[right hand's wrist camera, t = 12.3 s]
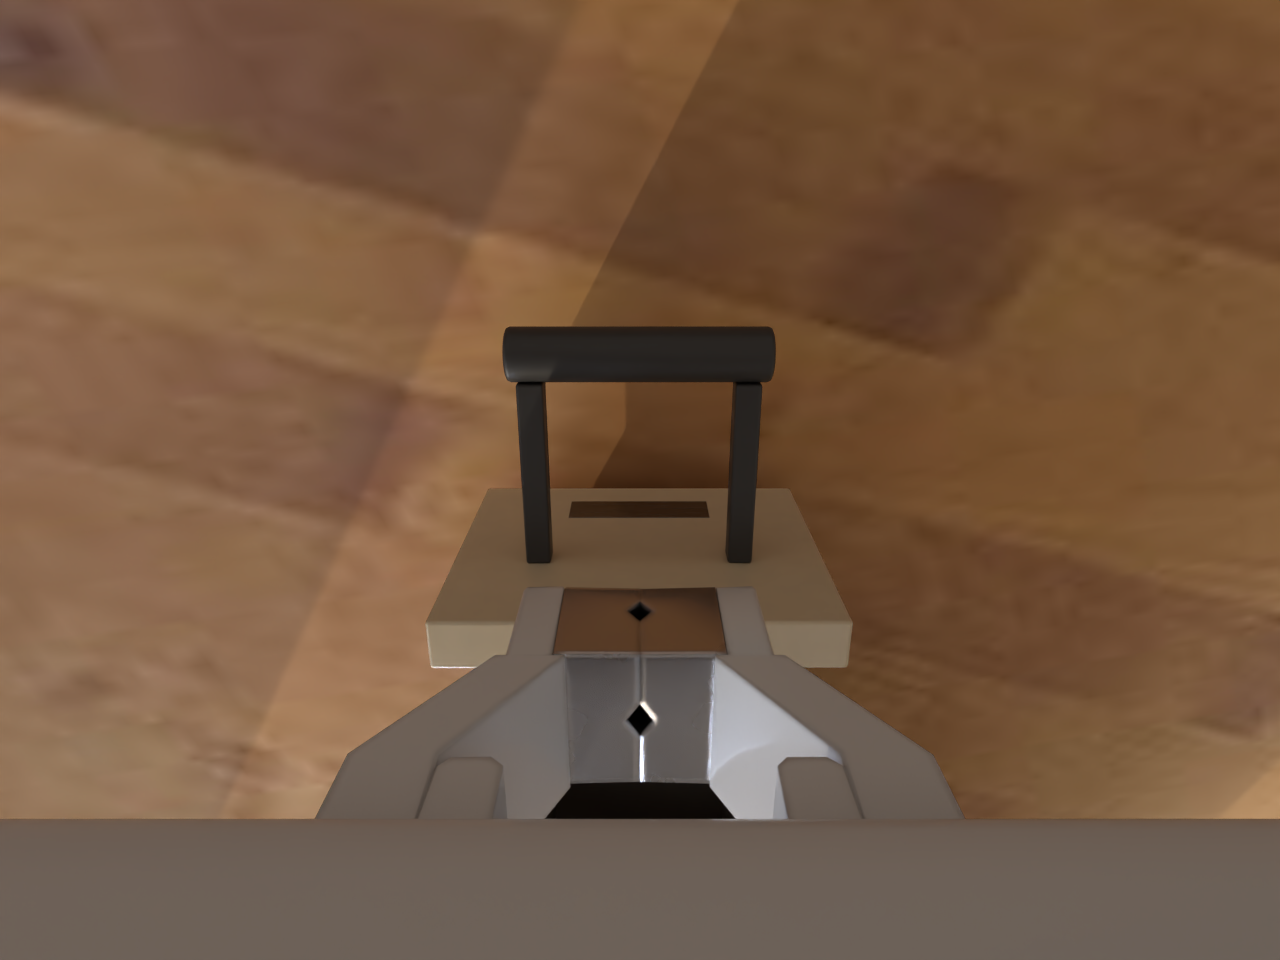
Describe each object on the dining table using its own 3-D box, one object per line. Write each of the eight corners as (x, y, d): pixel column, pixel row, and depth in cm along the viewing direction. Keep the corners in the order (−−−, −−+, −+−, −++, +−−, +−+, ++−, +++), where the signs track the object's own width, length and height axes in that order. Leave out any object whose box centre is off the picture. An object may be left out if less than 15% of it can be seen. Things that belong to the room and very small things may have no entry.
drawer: (472, 295, 21) (392, 356, 14) (805, 295, 21) (886, 356, 14) (522, 928, 30) (488, 1154, 23) (755, 928, 30) (790, 1154, 23)
